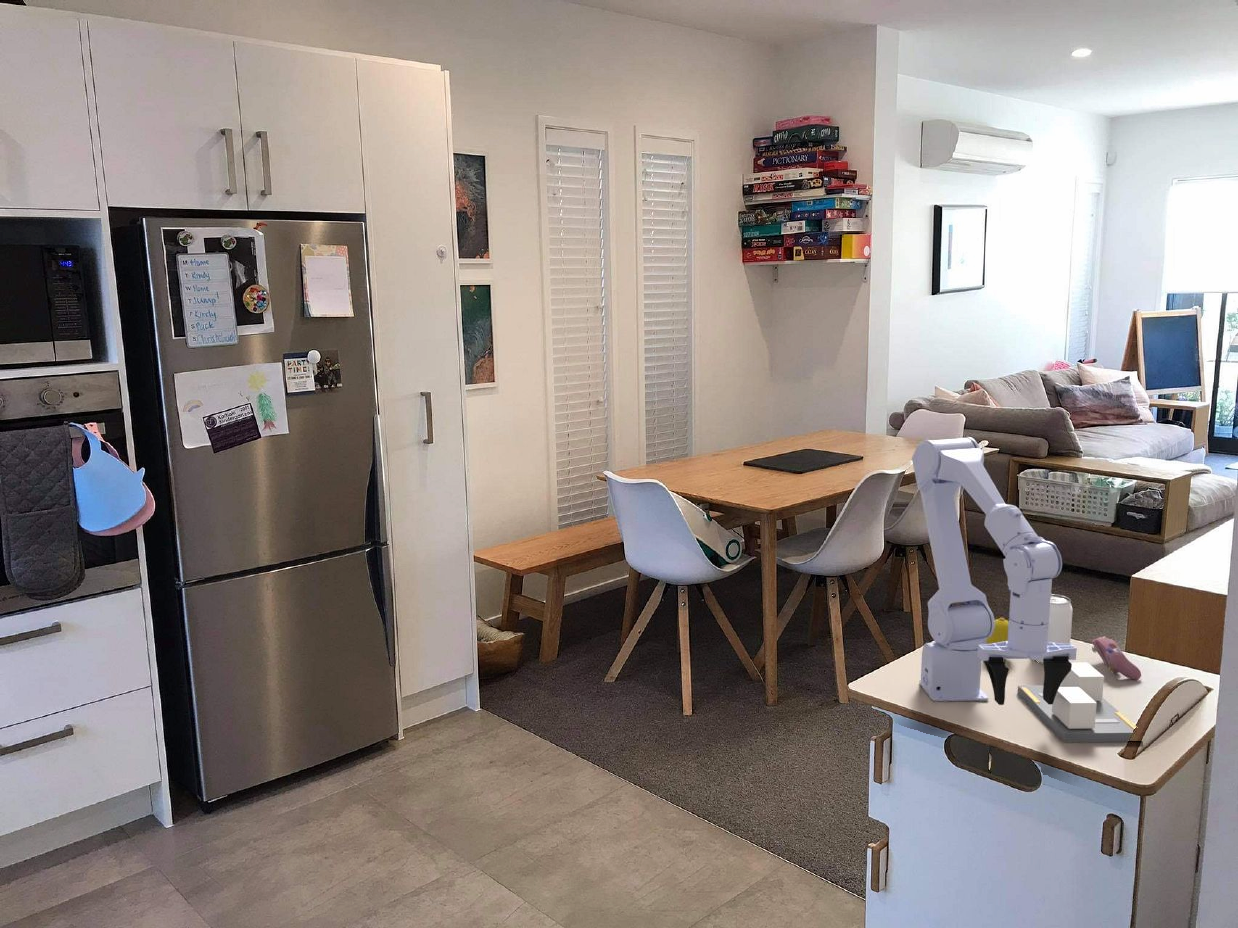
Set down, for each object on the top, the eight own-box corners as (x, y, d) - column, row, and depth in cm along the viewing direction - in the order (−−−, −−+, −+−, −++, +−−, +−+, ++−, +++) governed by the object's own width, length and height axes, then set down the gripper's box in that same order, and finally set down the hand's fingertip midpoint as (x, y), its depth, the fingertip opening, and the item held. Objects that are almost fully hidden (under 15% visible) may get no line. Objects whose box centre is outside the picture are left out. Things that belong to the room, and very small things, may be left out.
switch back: (1077, 700, 160) (1079, 676, 160) (1061, 685, 166) (1063, 662, 166) (1102, 700, 160) (1104, 676, 160) (1085, 685, 166) (1086, 662, 165)
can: (1072, 667, 179) (1077, 605, 176) (1034, 665, 180) (1039, 603, 178) (1064, 654, 185) (1068, 593, 183) (1027, 652, 186) (1031, 592, 184)
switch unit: (1064, 742, 150) (1065, 732, 150) (1017, 693, 168) (1018, 684, 167) (1142, 741, 150) (1143, 731, 150) (1087, 693, 168) (1088, 684, 167)
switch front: (1068, 728, 151) (1070, 702, 150) (1051, 711, 156) (1053, 687, 156) (1094, 728, 151) (1096, 702, 150) (1076, 711, 156) (1078, 686, 156)
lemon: (1019, 663, 181) (1022, 622, 179) (989, 664, 181) (992, 622, 179) (1008, 652, 186) (1011, 612, 185) (979, 652, 186) (981, 612, 185)
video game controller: (1098, 667, 183) (1083, 635, 182) (1122, 657, 182) (1107, 625, 181) (1119, 689, 173) (1104, 655, 172) (1144, 678, 172) (1129, 644, 171)
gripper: (991, 628, 147) (986, 713, 149) (1088, 627, 146) (1081, 712, 149) (974, 613, 154) (970, 694, 156) (1067, 612, 153) (1061, 693, 156)
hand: (1023, 702), depth 153 cm, fingers open, 7 cm apart
